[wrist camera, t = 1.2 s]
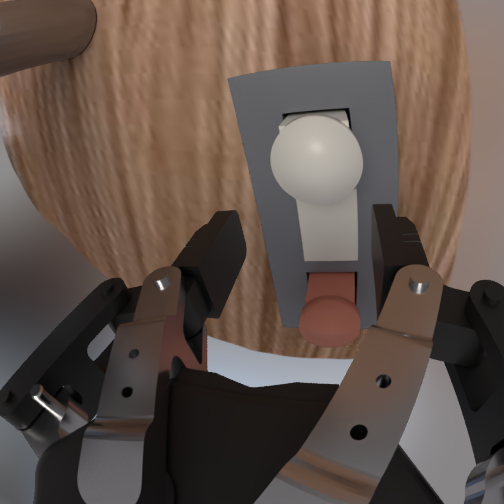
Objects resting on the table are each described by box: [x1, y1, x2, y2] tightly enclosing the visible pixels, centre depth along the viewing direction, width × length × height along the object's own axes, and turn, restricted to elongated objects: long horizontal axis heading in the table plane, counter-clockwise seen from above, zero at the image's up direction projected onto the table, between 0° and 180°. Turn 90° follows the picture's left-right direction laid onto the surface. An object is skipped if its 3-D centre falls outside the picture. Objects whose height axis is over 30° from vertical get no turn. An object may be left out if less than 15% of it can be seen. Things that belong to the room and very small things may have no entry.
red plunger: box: [299, 272, 360, 347], centre depth 28 cm, size 6×6×8 cm
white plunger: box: [270, 108, 363, 205], centre depth 19 cm, size 6×6×8 cm
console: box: [228, 61, 398, 329], centre depth 27 cm, size 27×12×7 cm, turn 12°
